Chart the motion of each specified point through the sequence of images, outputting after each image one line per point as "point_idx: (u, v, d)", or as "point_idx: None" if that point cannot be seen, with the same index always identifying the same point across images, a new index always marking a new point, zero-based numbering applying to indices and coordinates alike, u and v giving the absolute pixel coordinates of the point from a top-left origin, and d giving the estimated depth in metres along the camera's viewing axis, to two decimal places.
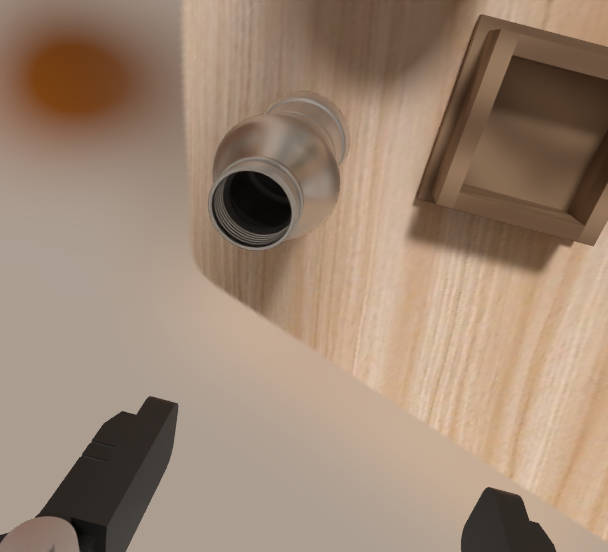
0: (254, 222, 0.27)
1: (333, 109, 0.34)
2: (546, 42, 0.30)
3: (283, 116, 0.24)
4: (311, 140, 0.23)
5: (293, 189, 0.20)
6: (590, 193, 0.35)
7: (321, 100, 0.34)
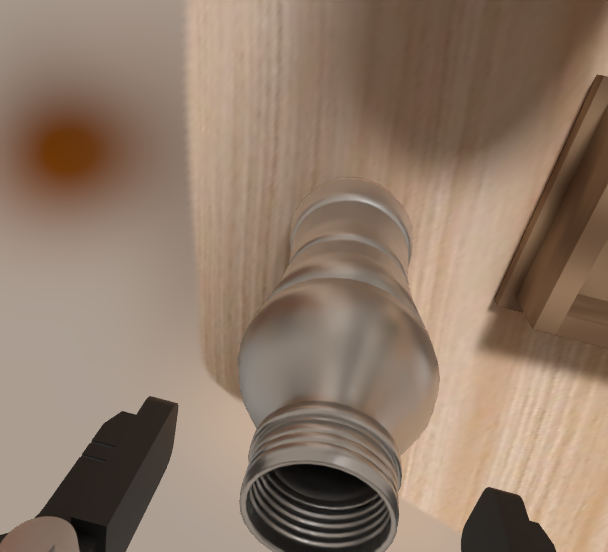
0: None
1: (394, 207, 0.25)
2: None
3: (353, 293, 0.15)
4: (402, 338, 0.14)
5: (391, 475, 0.11)
6: None
7: (378, 195, 0.24)
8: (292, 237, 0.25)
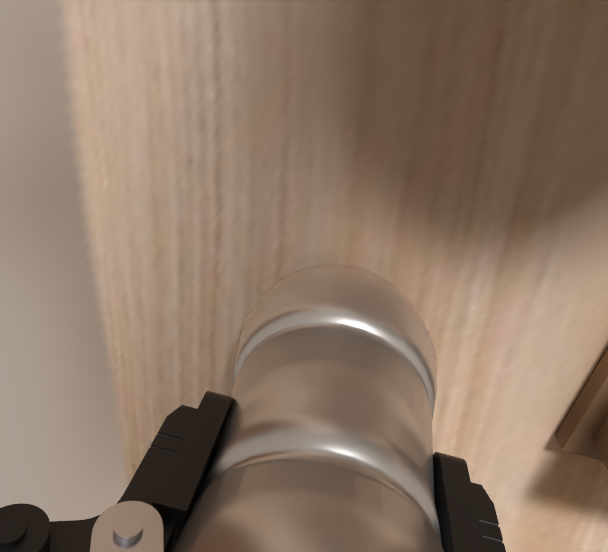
0: None
1: (407, 328, 0.14)
2: None
3: None
4: None
5: None
6: None
7: (380, 309, 0.14)
8: (235, 374, 0.15)
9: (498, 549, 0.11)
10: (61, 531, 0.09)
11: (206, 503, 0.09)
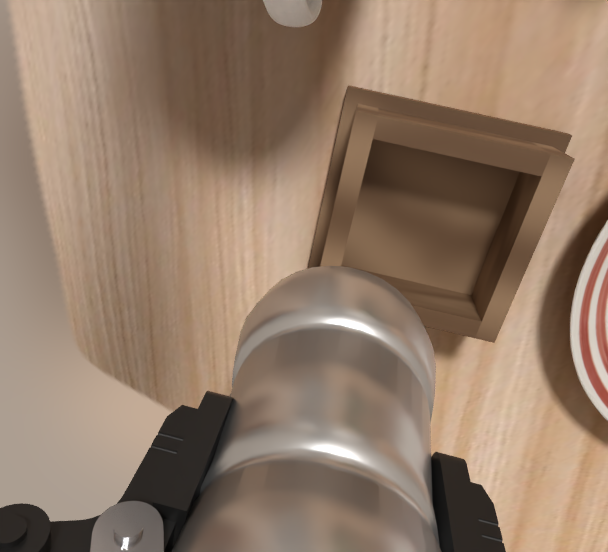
0: None
1: (406, 329, 0.14)
2: (409, 124, 0.25)
3: None
4: None
5: None
6: (488, 282, 0.30)
7: (378, 310, 0.14)
8: (234, 375, 0.15)
9: (498, 549, 0.11)
10: (61, 531, 0.09)
11: (204, 504, 0.09)
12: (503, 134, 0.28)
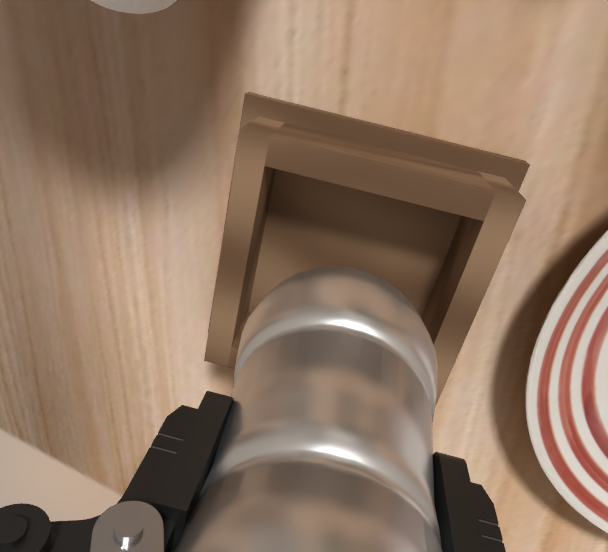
0: None
1: (408, 330, 0.14)
2: (310, 148, 0.19)
3: None
4: None
5: None
6: None
7: (380, 311, 0.14)
8: (235, 376, 0.15)
9: (498, 549, 0.11)
10: (62, 531, 0.09)
11: (206, 505, 0.09)
12: (443, 160, 0.22)
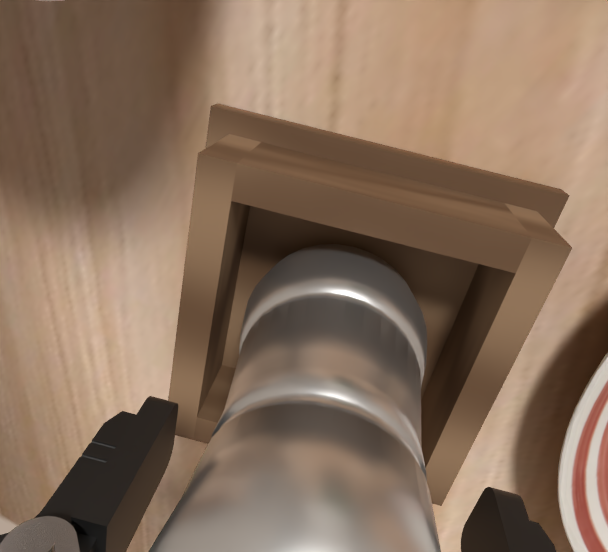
0: None
1: (404, 304, 0.16)
2: (290, 179, 0.15)
3: None
4: None
5: None
6: (434, 412, 0.19)
7: (380, 285, 0.16)
8: (242, 338, 0.16)
9: None
10: None
11: (225, 436, 0.11)
12: (459, 190, 0.18)
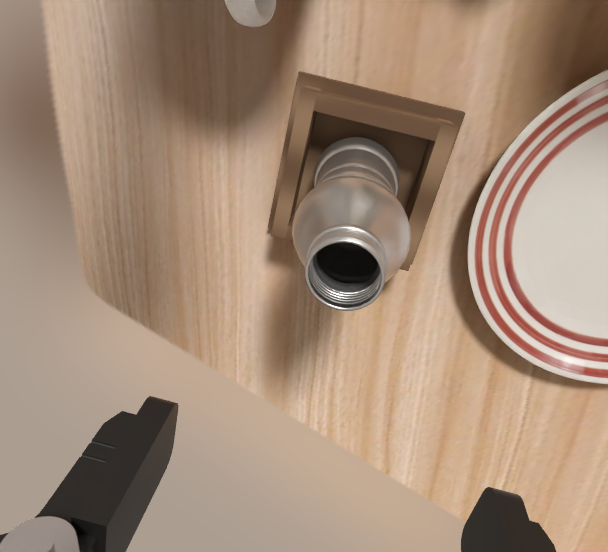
0: (323, 270, 0.29)
1: (388, 157, 0.36)
2: (339, 100, 0.35)
3: (365, 181, 0.26)
4: (391, 206, 0.25)
5: (382, 258, 0.22)
6: None
7: (378, 148, 0.36)
8: (316, 173, 0.36)
9: None
10: None
11: (324, 177, 0.31)
12: (415, 111, 0.38)
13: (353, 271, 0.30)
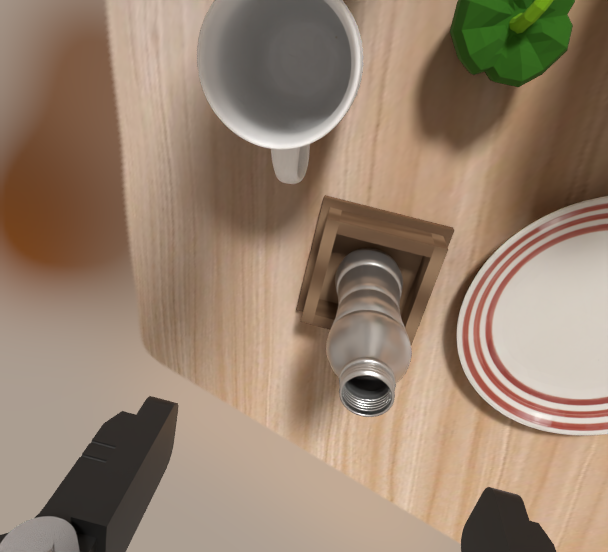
0: None
1: (394, 268, 0.46)
2: (356, 227, 0.45)
3: (379, 317, 0.36)
4: (398, 337, 0.36)
5: (392, 383, 0.33)
6: (406, 313, 0.50)
7: (386, 262, 0.46)
8: (338, 280, 0.47)
9: None
10: None
11: (347, 298, 0.41)
12: (414, 228, 0.48)
13: None
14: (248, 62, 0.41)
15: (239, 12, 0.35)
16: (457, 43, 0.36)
